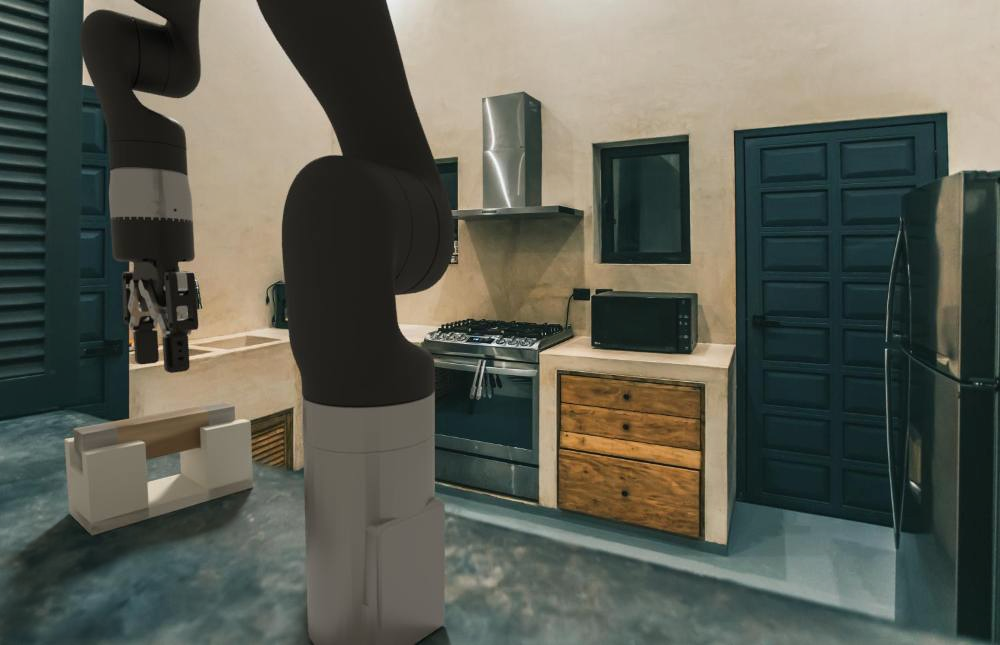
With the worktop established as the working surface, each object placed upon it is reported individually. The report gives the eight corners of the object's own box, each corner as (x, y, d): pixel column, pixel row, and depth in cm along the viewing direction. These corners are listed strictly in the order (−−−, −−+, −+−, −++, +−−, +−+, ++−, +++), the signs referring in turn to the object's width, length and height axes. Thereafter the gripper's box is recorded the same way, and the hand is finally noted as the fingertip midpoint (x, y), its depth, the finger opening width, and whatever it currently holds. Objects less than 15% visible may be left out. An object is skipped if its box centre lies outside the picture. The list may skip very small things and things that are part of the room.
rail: (235, 439, 68) (234, 406, 67) (84, 473, 56) (82, 434, 56) (224, 434, 70) (223, 402, 69) (75, 466, 58) (73, 428, 58)
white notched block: (252, 487, 67) (250, 421, 66) (91, 535, 55) (86, 455, 54) (223, 472, 72) (221, 410, 71) (69, 513, 60) (64, 439, 59)
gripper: (218, 215, 59) (226, 370, 60) (165, 222, 68) (172, 357, 70) (136, 209, 53) (147, 380, 55) (90, 218, 62) (100, 365, 64)
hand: (161, 367), depth 62 cm, fingers open, 8 cm apart
